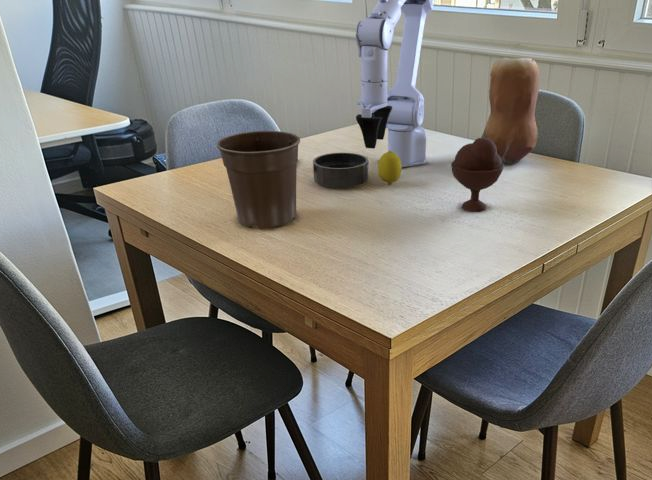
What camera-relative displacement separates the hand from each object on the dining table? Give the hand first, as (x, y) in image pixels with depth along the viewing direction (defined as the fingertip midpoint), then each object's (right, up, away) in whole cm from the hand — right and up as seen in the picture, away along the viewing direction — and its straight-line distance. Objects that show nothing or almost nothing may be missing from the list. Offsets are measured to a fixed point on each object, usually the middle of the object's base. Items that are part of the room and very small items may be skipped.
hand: (374, 143), depth 143 cm
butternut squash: (+35, +2, +19) cm, 40 cm away
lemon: (+4, -9, +5) cm, 10 cm away
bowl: (-8, -7, +7) cm, 13 cm away
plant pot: (-23, -20, -13) cm, 33 cm away
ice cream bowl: (+21, -17, -9) cm, 29 cm away
